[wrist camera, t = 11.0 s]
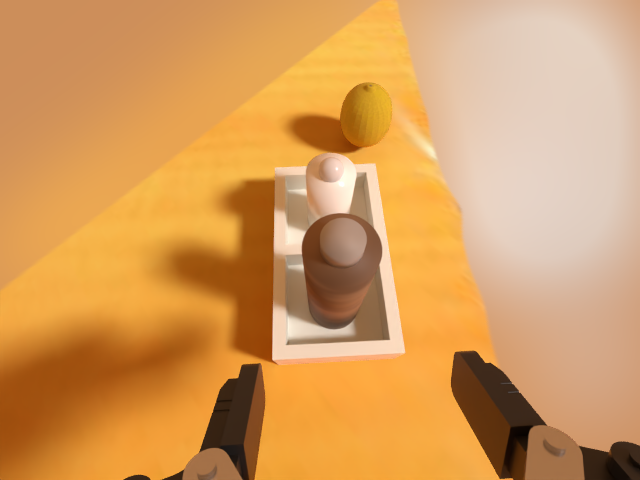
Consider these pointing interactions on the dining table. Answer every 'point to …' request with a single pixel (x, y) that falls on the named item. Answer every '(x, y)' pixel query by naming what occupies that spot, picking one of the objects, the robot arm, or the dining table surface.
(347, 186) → the salt shaker
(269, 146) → the dining table surface
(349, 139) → the lemon
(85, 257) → the dining table surface
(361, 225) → the pepper mill
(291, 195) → the caddy
